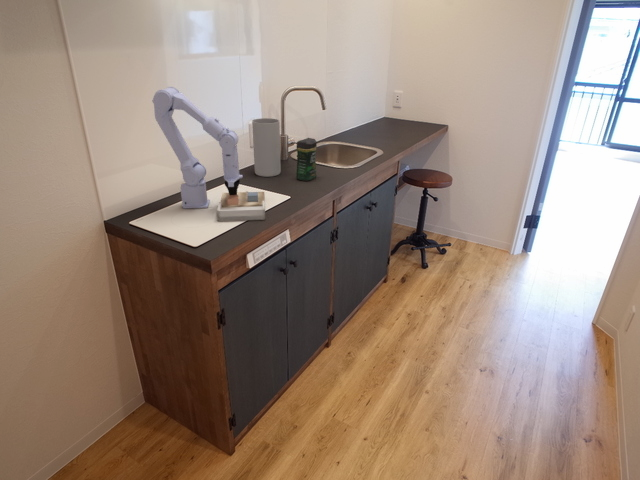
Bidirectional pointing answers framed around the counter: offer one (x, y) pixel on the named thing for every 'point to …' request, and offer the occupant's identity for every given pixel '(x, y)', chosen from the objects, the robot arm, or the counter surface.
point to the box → (241, 213)
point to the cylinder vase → (266, 146)
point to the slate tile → (252, 196)
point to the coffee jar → (306, 159)
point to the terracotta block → (233, 200)
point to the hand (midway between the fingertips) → (233, 198)
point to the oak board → (243, 200)
